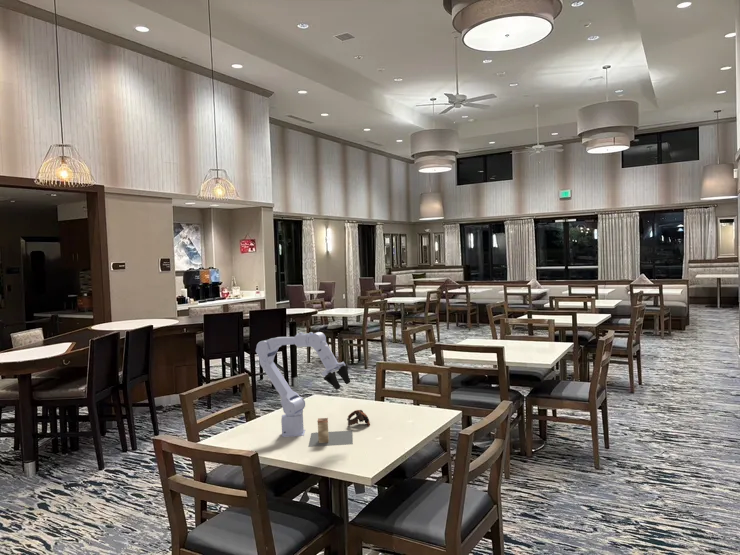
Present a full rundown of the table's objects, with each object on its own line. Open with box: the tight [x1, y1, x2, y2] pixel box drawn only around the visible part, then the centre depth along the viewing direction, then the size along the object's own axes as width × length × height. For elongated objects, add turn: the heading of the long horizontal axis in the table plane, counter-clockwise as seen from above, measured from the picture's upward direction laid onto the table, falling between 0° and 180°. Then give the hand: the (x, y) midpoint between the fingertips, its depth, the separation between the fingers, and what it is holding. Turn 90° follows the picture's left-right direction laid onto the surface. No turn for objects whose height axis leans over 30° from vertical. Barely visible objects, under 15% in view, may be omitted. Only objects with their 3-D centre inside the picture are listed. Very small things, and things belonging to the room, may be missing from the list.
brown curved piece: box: [346, 409, 371, 427], centre depth 244 cm, size 12×10×8 cm
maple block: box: [316, 417, 329, 443], centre depth 223 cm, size 4×4×9 cm
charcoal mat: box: [307, 430, 354, 448], centre depth 226 cm, size 18×18×1 cm
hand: (343, 386), depth 225 cm, fingers open, 7 cm apart
